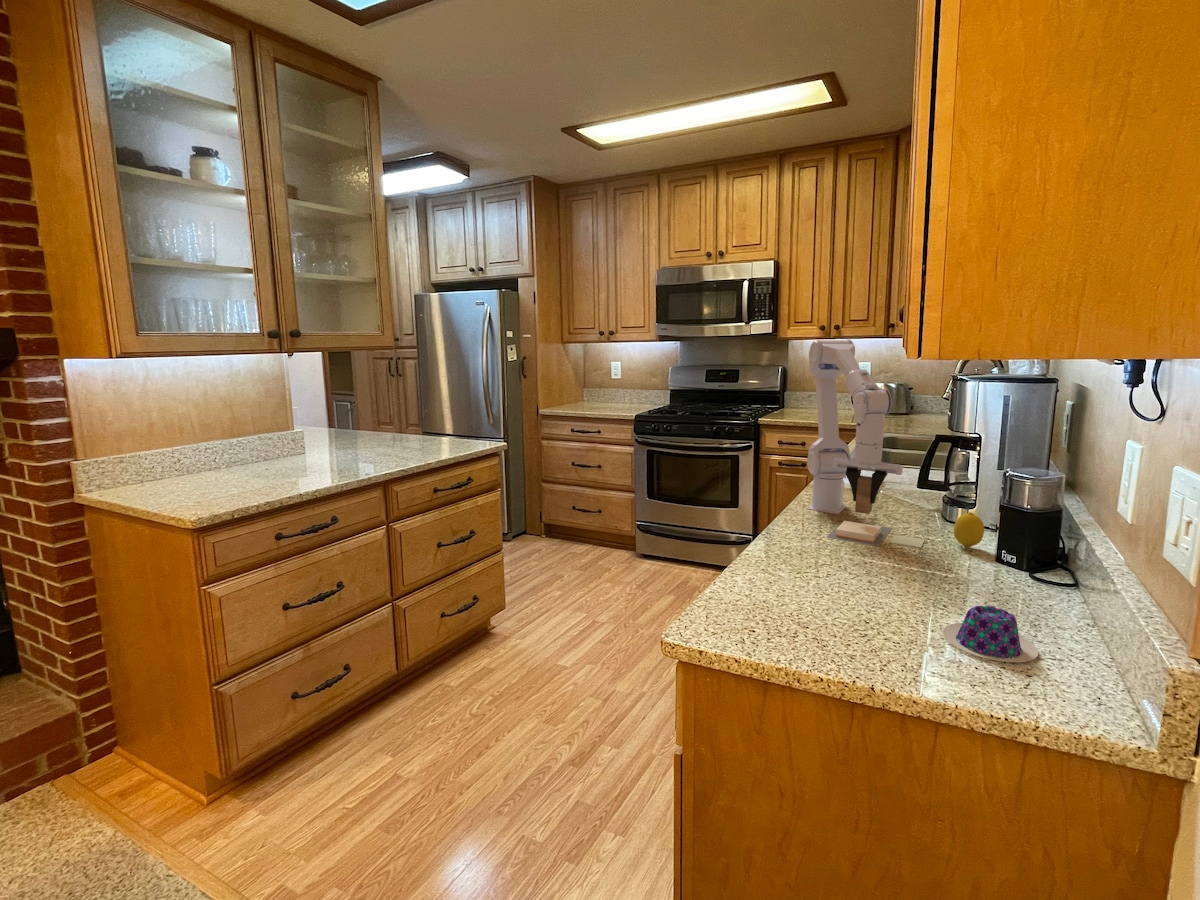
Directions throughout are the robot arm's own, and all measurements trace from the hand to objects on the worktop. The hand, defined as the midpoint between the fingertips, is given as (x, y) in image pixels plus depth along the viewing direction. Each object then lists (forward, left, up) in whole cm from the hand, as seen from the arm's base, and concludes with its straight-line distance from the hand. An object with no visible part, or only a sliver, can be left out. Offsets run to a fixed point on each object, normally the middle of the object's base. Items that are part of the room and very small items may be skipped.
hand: (864, 501), depth 141 cm
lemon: (-2, +21, -8) cm, 22 cm away
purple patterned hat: (+45, +27, -8) cm, 53 cm away
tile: (-1, 0, -6) cm, 6 cm away
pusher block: (0, 0, -2) cm, 2 cm away
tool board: (+2, +10, -7) cm, 13 cm away
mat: (+1, 0, -7) cm, 8 cm away
